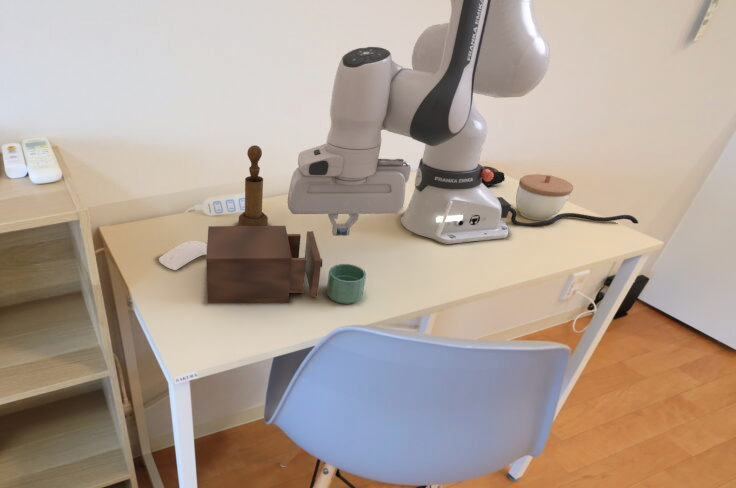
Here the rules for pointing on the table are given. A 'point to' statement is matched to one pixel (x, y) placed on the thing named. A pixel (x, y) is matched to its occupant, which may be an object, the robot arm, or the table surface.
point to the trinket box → (542, 196)
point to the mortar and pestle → (253, 193)
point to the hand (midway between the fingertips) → (340, 234)
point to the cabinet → (248, 264)
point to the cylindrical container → (346, 283)
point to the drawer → (304, 264)
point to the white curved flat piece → (183, 254)
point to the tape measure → (496, 179)
